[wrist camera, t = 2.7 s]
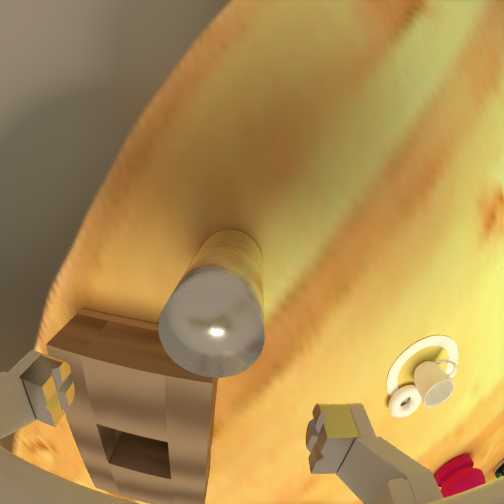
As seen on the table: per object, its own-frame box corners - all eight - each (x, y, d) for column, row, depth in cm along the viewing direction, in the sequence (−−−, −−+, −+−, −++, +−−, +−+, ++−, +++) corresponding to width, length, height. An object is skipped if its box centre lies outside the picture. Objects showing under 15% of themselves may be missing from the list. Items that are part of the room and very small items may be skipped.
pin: (202, 225, 21) (158, 279, 12) (266, 233, 22) (272, 294, 12) (196, 285, 23) (158, 368, 13) (257, 293, 23) (256, 383, 13)
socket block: (82, 308, 24) (46, 344, 18) (222, 334, 24) (212, 383, 18) (111, 451, 29) (95, 487, 23) (209, 472, 29) (203, 513, 24)
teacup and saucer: (393, 414, 27) (405, 442, 23) (364, 372, 25) (377, 401, 21) (462, 367, 25) (481, 390, 22) (444, 316, 24) (467, 339, 20)
